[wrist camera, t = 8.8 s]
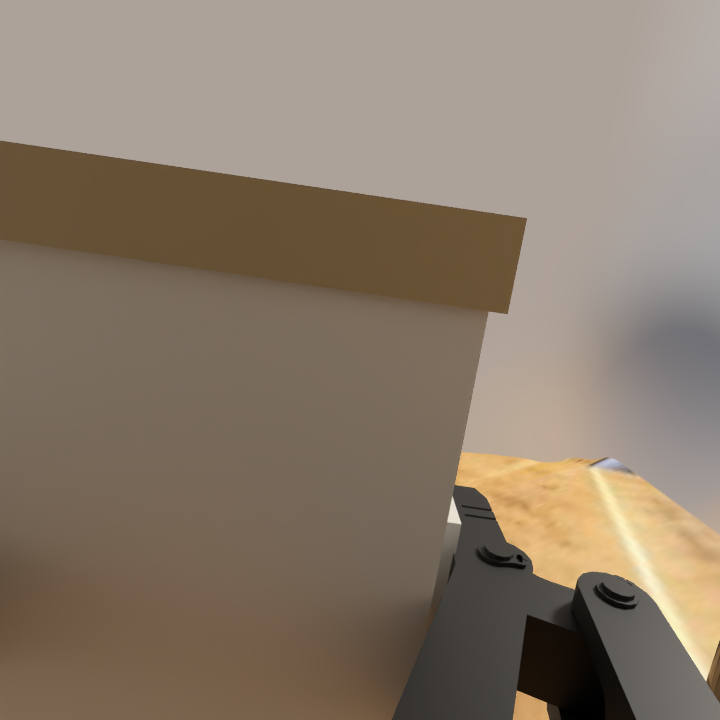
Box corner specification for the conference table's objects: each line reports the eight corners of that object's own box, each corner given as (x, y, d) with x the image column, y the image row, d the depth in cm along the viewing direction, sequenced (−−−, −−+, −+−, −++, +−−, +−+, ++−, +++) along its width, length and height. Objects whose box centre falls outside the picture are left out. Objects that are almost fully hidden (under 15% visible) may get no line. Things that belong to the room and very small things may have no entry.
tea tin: (133, 732, 17) (168, 195, 14) (354, 764, 17) (446, 236, 14) (-43, 1082, 10) (-66, 130, 6) (340, 1136, 10) (527, 217, 6)
